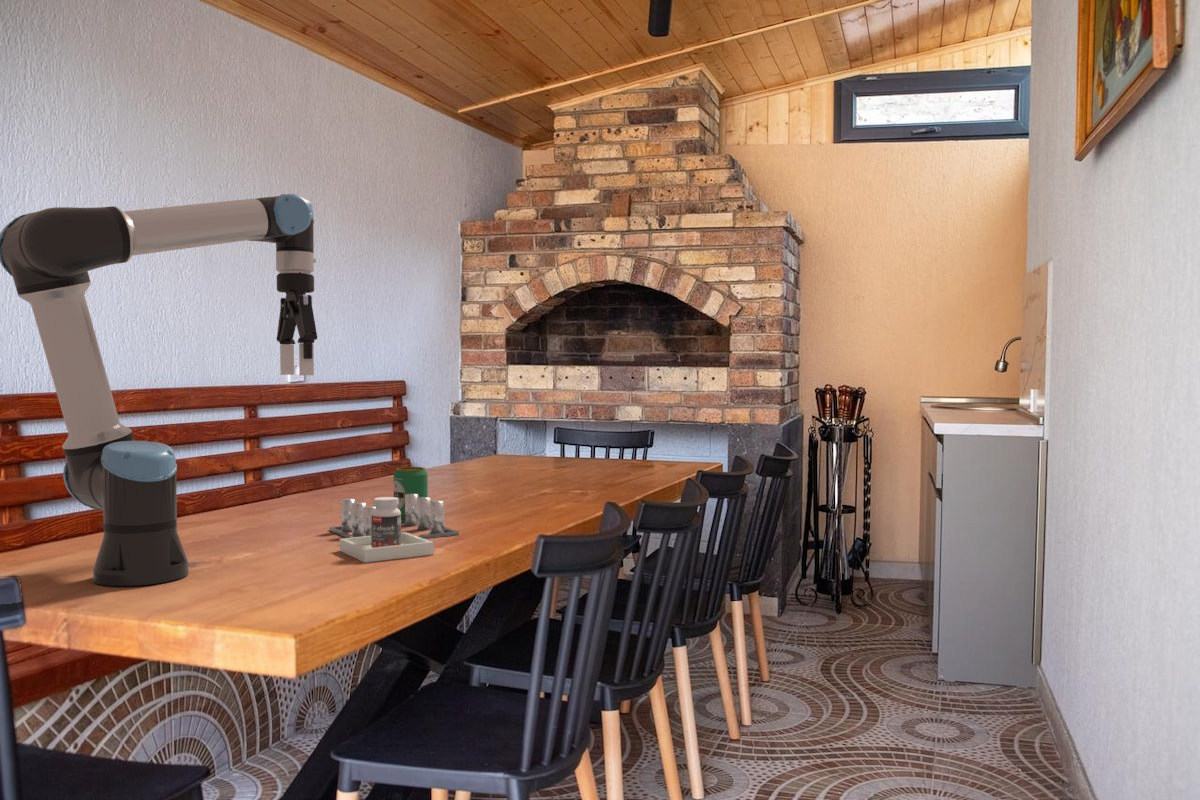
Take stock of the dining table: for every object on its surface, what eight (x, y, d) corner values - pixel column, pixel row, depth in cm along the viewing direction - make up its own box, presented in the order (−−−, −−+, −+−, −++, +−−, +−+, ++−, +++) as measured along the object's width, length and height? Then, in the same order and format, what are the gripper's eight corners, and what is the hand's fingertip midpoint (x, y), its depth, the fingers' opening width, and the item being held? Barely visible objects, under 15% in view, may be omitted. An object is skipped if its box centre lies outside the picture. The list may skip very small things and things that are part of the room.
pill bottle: (368, 551, 196) (368, 500, 195) (374, 546, 201) (373, 496, 201) (398, 551, 196) (398, 500, 195) (403, 545, 201) (402, 496, 201)
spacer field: (362, 545, 207) (362, 511, 206) (328, 530, 225) (327, 498, 225) (460, 534, 219) (460, 502, 219) (420, 521, 237) (419, 491, 237)
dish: (364, 562, 189) (364, 549, 189) (339, 550, 201) (339, 538, 200) (433, 554, 196) (433, 542, 196) (406, 543, 208) (405, 532, 208)
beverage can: (387, 518, 242) (387, 468, 242) (416, 514, 247) (416, 466, 247) (405, 522, 236) (404, 471, 236) (434, 518, 242) (433, 468, 241)
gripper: (332, 269, 203) (333, 375, 203) (295, 278, 223) (297, 374, 224) (294, 267, 198) (296, 375, 199) (261, 276, 219) (262, 374, 220)
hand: (296, 375), depth 212 cm, fingers open, 13 cm apart
